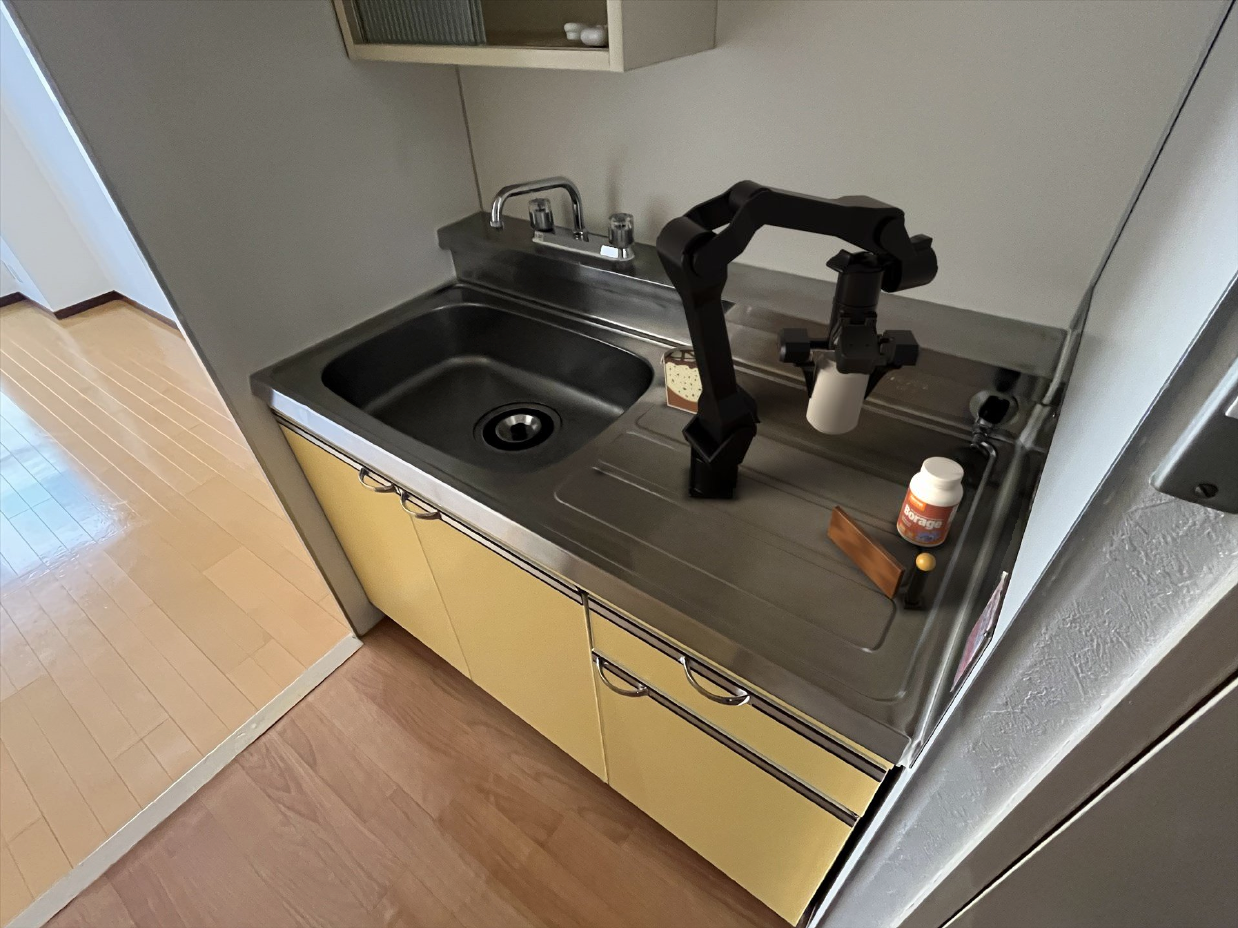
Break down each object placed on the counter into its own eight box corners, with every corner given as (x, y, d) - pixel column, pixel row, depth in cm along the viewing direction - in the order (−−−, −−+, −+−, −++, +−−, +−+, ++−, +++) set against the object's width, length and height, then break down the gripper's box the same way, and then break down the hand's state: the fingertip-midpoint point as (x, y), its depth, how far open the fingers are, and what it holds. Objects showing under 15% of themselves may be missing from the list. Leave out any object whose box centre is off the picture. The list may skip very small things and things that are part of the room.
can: (858, 440, 95) (876, 368, 87) (805, 434, 96) (819, 364, 89) (854, 412, 100) (871, 343, 93) (805, 408, 102) (818, 339, 94)
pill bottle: (888, 534, 86) (908, 470, 79) (906, 510, 90) (926, 446, 83) (935, 555, 83) (960, 490, 76) (952, 529, 86) (977, 465, 80)
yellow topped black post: (903, 609, 76) (921, 561, 71) (899, 596, 78) (916, 548, 73) (921, 610, 76) (940, 562, 71) (917, 597, 78) (935, 549, 73)
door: (827, 534, 86) (833, 507, 83) (836, 531, 86) (843, 503, 83) (891, 599, 77) (900, 571, 74) (901, 595, 77) (911, 566, 74)
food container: (738, 405, 112) (743, 354, 106) (723, 422, 108) (727, 370, 102) (676, 387, 118) (677, 337, 111) (660, 403, 114) (660, 352, 107)
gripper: (790, 324, 81) (776, 426, 90) (946, 327, 78) (914, 431, 88) (783, 288, 89) (770, 385, 99) (923, 290, 87) (896, 388, 97)
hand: (836, 397), depth 95 cm, fingers closed on can, 7 cm apart
